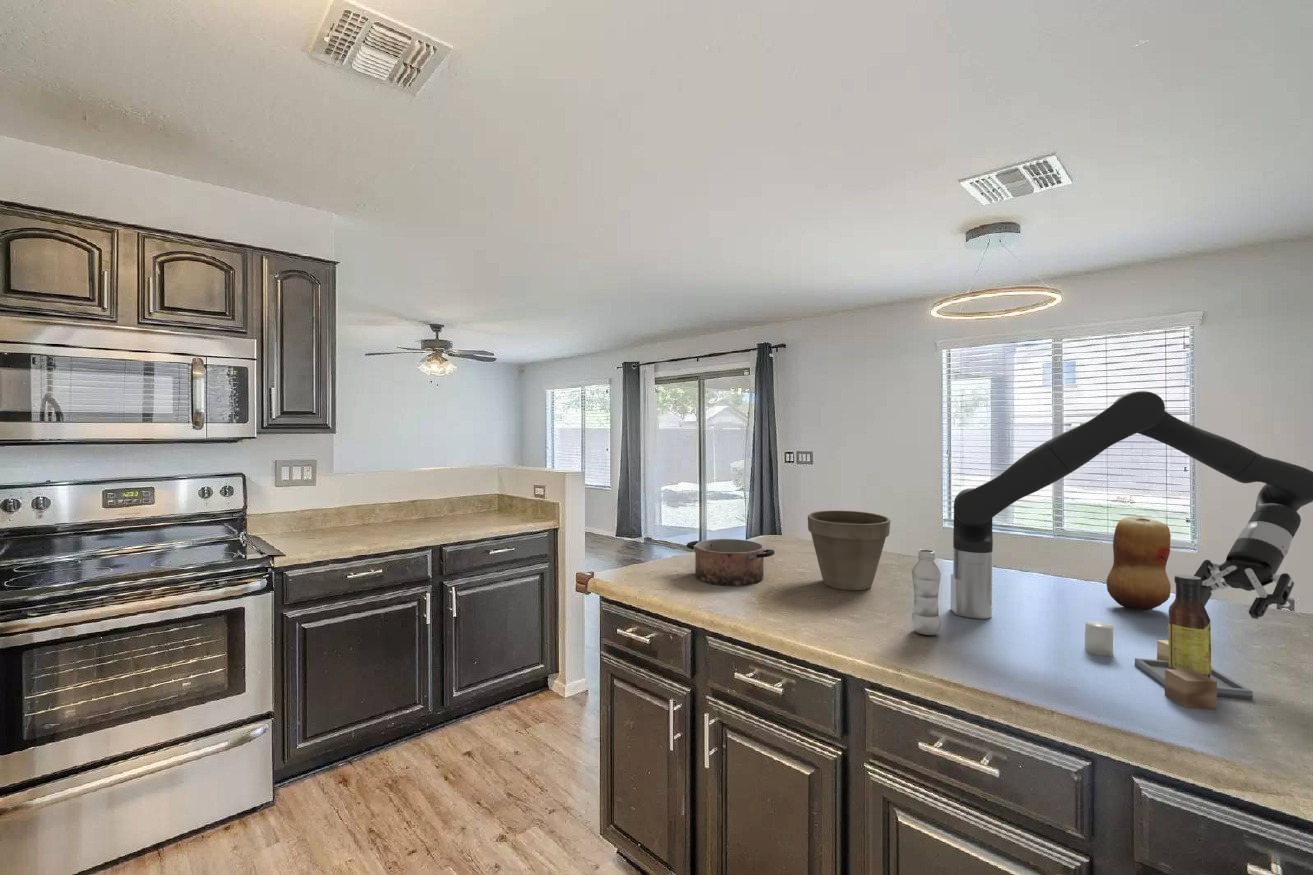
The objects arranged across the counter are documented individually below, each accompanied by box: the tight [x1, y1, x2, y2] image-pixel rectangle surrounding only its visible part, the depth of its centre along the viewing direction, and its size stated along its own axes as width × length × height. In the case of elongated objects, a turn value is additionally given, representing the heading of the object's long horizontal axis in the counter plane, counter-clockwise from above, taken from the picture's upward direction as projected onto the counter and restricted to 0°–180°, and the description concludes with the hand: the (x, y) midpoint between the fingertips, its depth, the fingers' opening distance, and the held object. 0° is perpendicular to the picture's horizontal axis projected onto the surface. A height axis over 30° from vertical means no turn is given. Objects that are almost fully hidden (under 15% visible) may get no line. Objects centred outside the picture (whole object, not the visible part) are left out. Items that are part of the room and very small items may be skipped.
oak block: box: [1156, 639, 1169, 661], centre depth 124 cm, size 6×4×4 cm, turn 94°
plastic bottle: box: [910, 549, 942, 636], centre depth 142 cm, size 6×7×20 cm
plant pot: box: [807, 510, 891, 591], centre depth 185 cm, size 25×25×22 cm
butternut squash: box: [1105, 516, 1172, 612], centre depth 160 cm, size 14×13×25 cm
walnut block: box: [1164, 669, 1218, 710], centre depth 107 cm, size 5×5×5 cm
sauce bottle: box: [1167, 574, 1212, 678], centre depth 116 cm, size 7×6×20 cm
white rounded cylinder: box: [1084, 620, 1114, 657], centre depth 130 cm, size 5×5×6 cm
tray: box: [1134, 657, 1254, 700], centre depth 115 cm, size 13×13×2 cm
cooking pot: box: [686, 538, 775, 587], centre depth 194 cm, size 30×22×11 cm
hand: (1225, 609), depth 119 cm, fingers open, 8 cm apart
